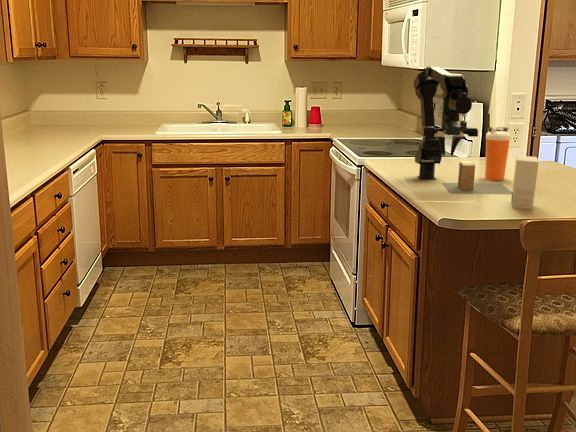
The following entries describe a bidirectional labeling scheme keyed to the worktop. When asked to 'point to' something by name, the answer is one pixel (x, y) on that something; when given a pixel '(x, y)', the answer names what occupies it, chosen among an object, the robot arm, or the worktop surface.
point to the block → (466, 175)
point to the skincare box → (524, 182)
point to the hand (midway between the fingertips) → (447, 155)
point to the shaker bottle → (496, 152)
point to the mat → (478, 188)
